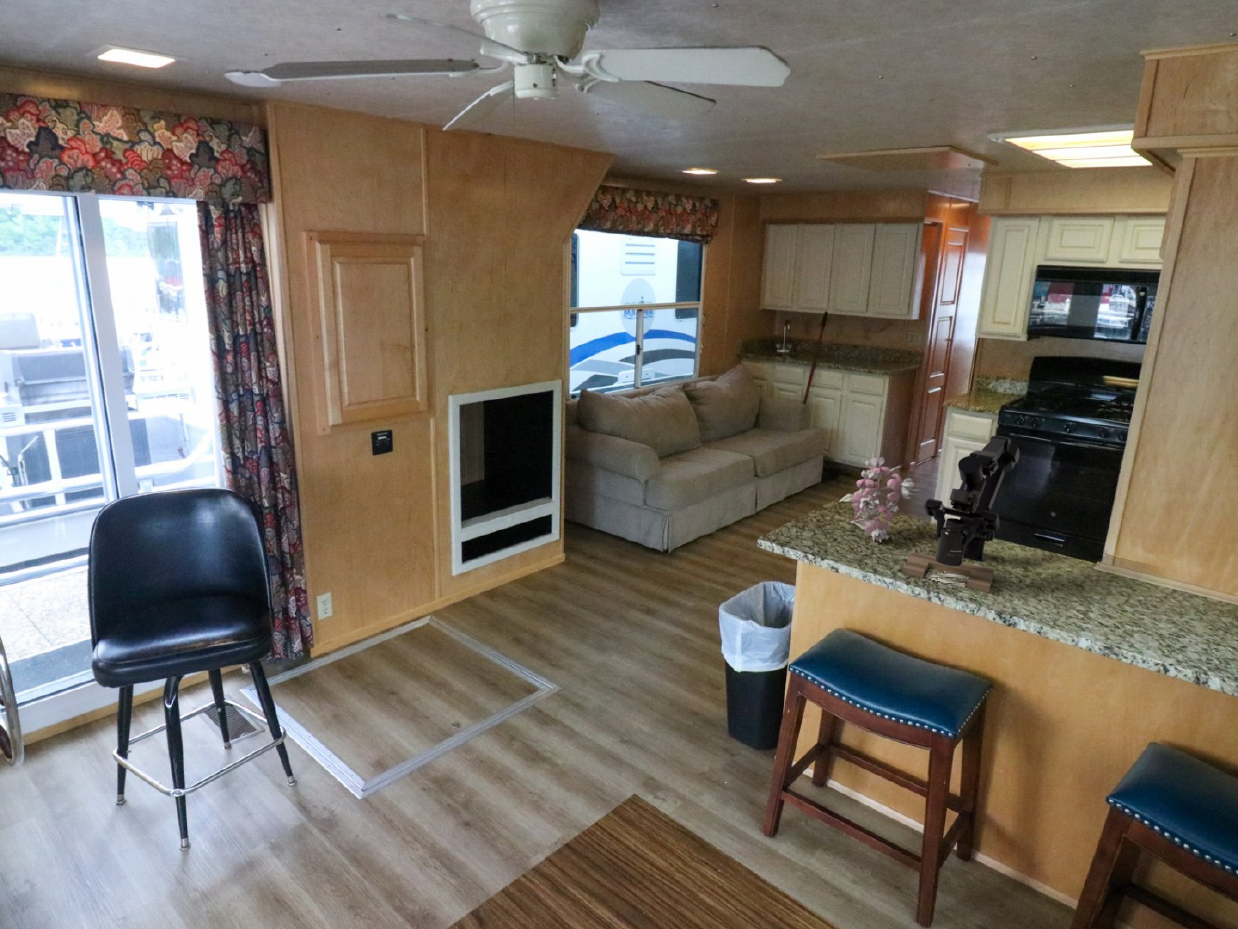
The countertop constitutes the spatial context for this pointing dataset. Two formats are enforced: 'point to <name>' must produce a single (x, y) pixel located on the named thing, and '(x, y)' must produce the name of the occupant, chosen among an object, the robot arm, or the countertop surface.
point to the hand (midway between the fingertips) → (951, 540)
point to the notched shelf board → (977, 575)
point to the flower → (868, 499)
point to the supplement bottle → (951, 543)
